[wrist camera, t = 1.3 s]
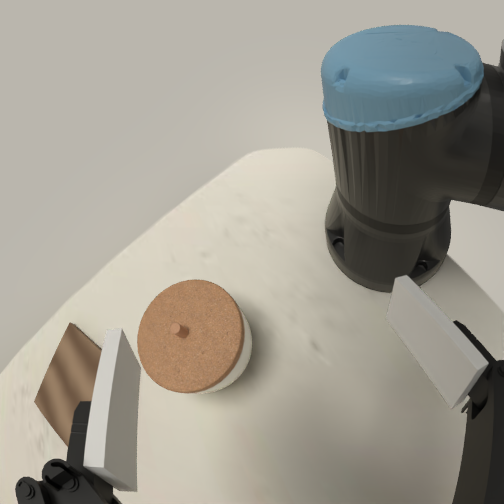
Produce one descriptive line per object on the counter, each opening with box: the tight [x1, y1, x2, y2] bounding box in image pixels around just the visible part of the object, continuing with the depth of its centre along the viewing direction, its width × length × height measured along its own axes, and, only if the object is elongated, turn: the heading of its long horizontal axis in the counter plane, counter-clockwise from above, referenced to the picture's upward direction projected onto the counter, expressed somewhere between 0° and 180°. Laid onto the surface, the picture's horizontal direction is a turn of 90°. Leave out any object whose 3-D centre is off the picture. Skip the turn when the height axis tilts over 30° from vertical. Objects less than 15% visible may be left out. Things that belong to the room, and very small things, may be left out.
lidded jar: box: [137, 280, 252, 394], centre depth 28 cm, size 11×11×9 cm
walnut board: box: [34, 323, 102, 446], centre depth 33 cm, size 16×16×1 cm
